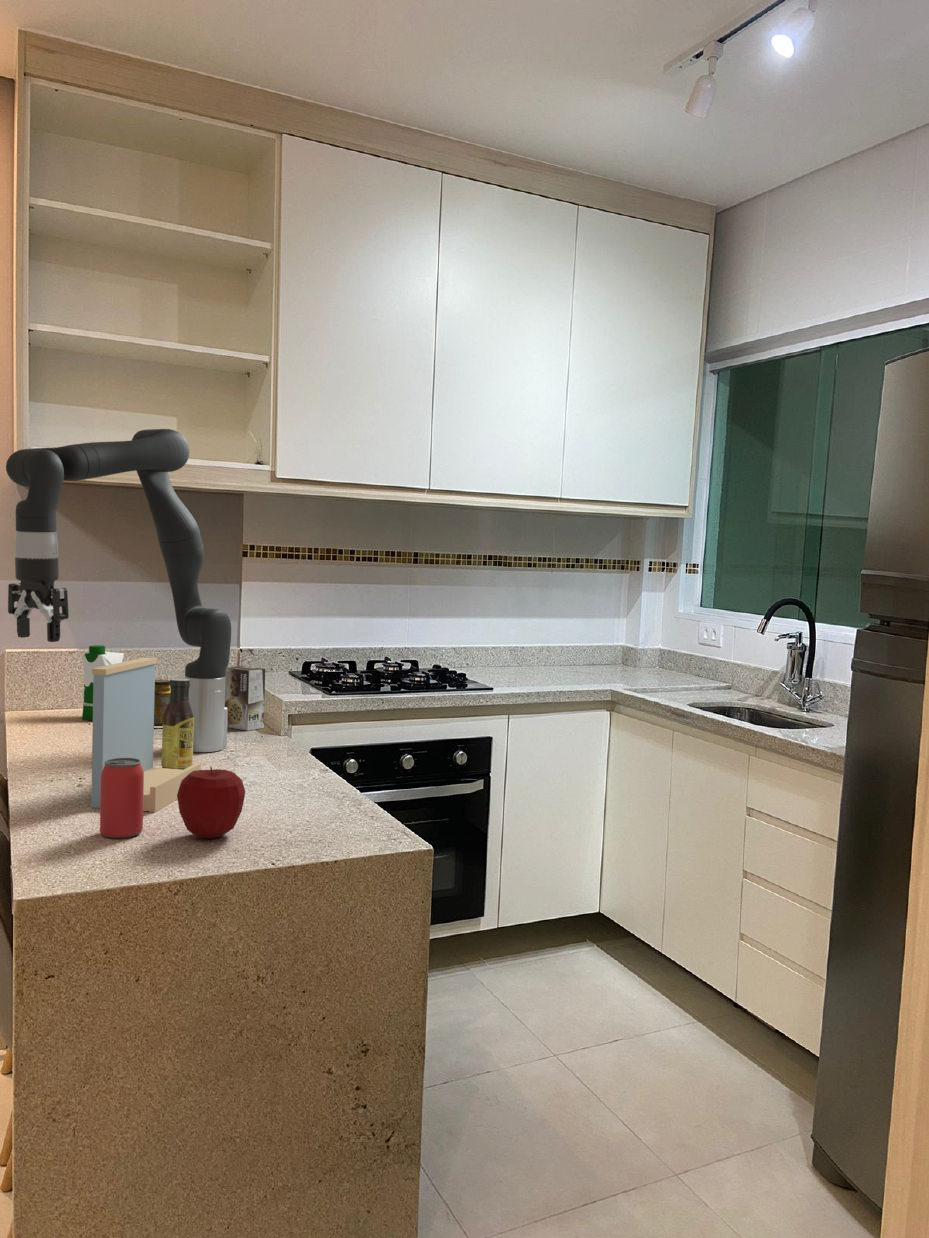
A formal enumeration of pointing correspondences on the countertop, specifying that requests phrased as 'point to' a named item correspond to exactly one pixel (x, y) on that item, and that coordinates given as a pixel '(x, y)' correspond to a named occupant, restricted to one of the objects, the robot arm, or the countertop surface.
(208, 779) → the apple
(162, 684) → the condiment
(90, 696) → the milk carton
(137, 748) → the wall board
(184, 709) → the sauce bottle
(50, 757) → the countertop surface
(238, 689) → the coffee box
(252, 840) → the countertop surface
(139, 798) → the beer can
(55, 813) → the countertop surface
